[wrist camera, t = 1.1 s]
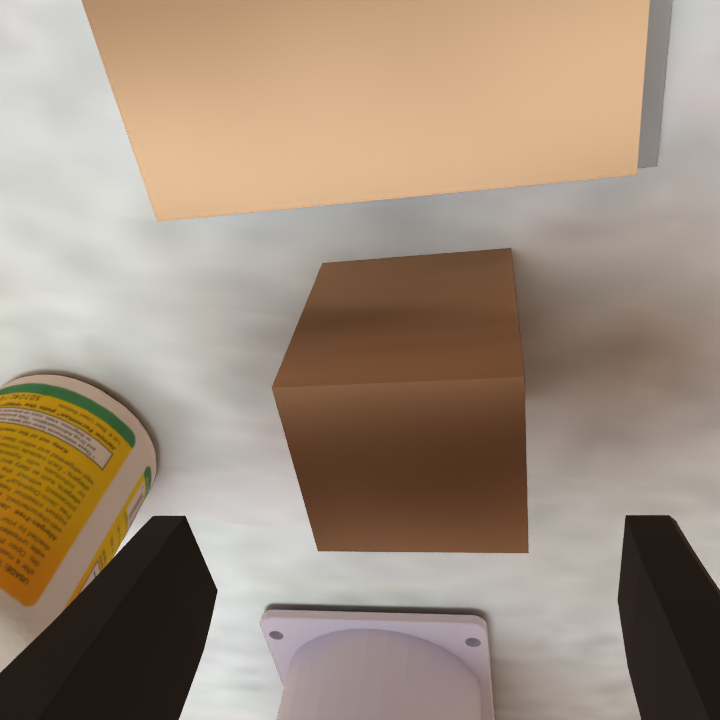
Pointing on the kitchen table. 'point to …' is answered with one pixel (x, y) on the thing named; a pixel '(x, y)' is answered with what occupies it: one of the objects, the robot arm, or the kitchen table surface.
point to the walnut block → (410, 405)
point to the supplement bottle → (62, 496)
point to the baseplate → (654, 81)
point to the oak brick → (369, 97)
